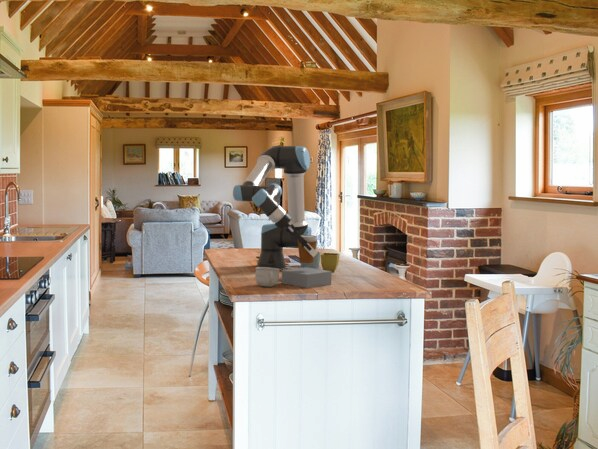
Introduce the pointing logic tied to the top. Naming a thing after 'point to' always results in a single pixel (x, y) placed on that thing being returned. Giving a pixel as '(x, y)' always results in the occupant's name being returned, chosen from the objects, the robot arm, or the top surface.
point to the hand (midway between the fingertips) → (314, 253)
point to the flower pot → (329, 261)
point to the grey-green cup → (315, 263)
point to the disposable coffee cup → (303, 253)
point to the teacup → (267, 276)
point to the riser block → (306, 277)
